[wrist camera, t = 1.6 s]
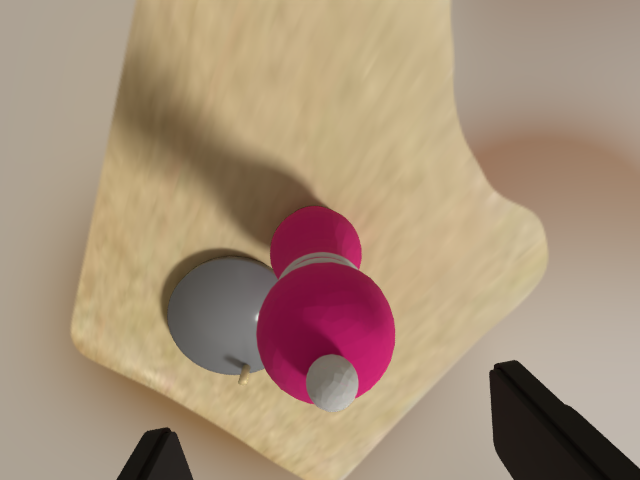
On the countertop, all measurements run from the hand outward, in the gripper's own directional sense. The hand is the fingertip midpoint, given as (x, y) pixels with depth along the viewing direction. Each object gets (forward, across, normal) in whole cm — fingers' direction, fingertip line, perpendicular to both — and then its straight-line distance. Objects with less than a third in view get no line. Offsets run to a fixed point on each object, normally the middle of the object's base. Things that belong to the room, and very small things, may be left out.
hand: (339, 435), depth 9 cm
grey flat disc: (+21, +9, +5) cm, 23 cm away
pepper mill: (+21, 0, -1) cm, 21 cm away
